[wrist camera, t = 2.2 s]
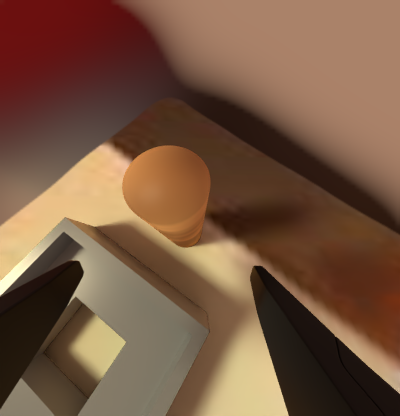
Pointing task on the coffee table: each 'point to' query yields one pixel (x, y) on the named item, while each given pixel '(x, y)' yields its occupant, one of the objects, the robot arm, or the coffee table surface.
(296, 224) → the coffee table surface
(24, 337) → the robot arm
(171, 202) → the orange peg
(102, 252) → the socket box
